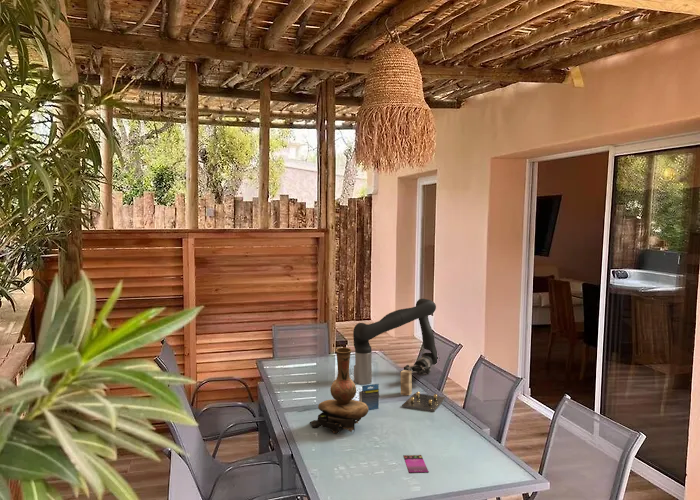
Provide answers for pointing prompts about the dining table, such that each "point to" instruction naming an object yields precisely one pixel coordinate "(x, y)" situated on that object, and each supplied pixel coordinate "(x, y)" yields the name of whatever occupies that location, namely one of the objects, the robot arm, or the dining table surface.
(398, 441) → the dining table surface
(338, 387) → the vase
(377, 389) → the label tape box
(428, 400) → the chassis
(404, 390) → the maple block
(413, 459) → the smartphone
